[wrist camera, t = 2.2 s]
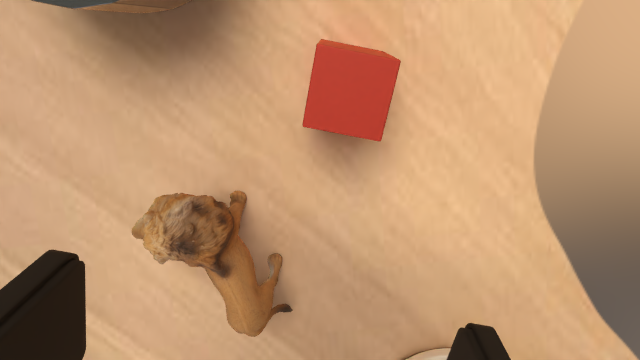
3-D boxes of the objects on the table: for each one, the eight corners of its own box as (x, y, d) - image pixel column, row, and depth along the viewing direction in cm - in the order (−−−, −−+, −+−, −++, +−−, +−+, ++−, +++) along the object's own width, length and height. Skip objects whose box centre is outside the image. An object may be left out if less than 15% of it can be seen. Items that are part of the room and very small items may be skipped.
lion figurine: (161, 183, 32) (100, 239, 24) (216, 149, 31) (173, 195, 23) (267, 318, 36) (248, 407, 28) (320, 292, 35) (315, 376, 27)
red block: (384, 51, 29) (401, 60, 21) (369, 114, 30) (380, 141, 23) (320, 39, 28) (316, 43, 21) (309, 103, 30) (302, 126, 23)
